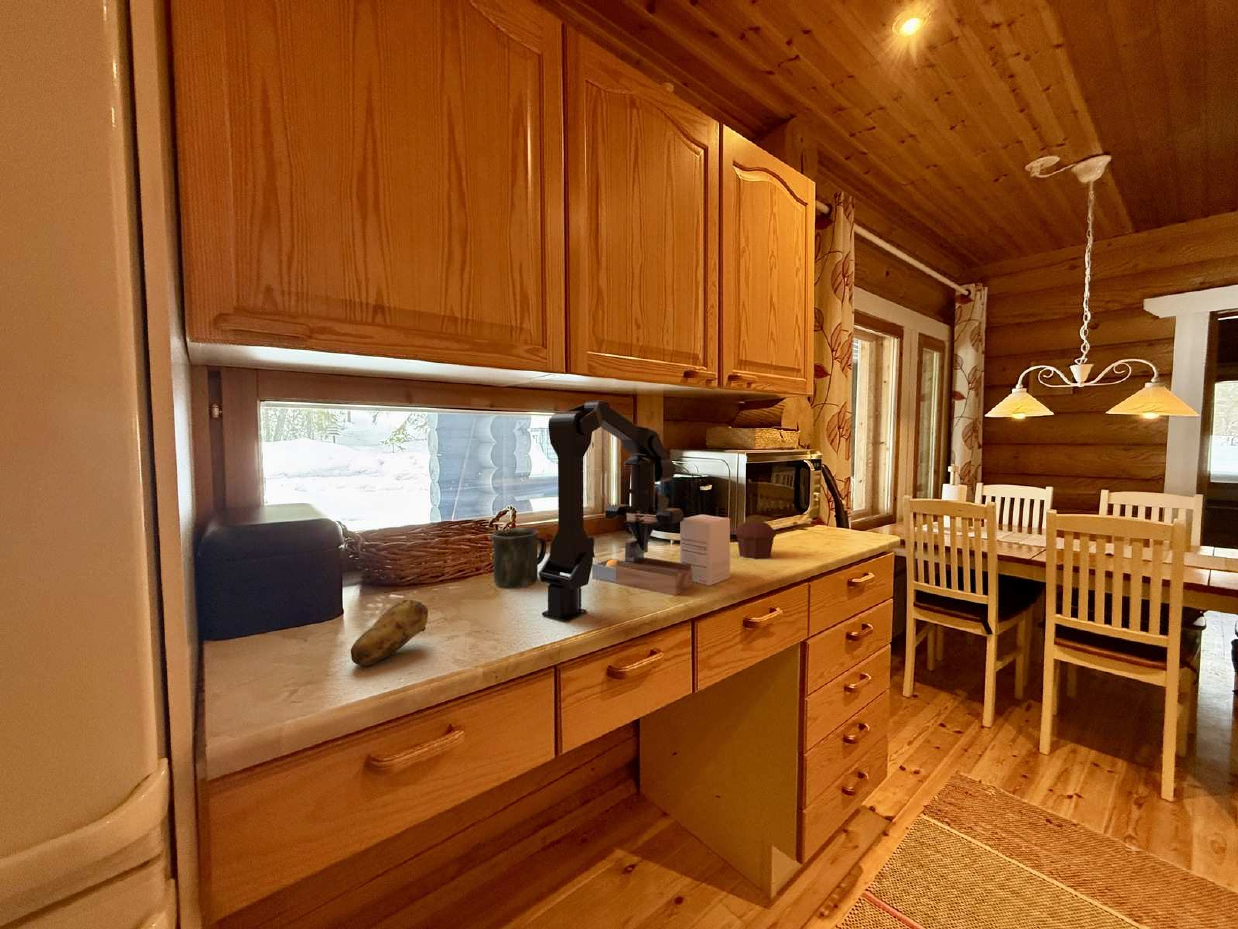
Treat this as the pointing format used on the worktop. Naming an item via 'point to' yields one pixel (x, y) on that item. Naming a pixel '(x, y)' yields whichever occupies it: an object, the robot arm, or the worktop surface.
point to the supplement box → (706, 548)
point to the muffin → (755, 539)
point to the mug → (516, 556)
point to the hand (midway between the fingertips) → (643, 549)
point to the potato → (390, 632)
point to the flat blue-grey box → (604, 571)
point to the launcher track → (655, 575)
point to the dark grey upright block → (634, 552)
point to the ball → (612, 563)
